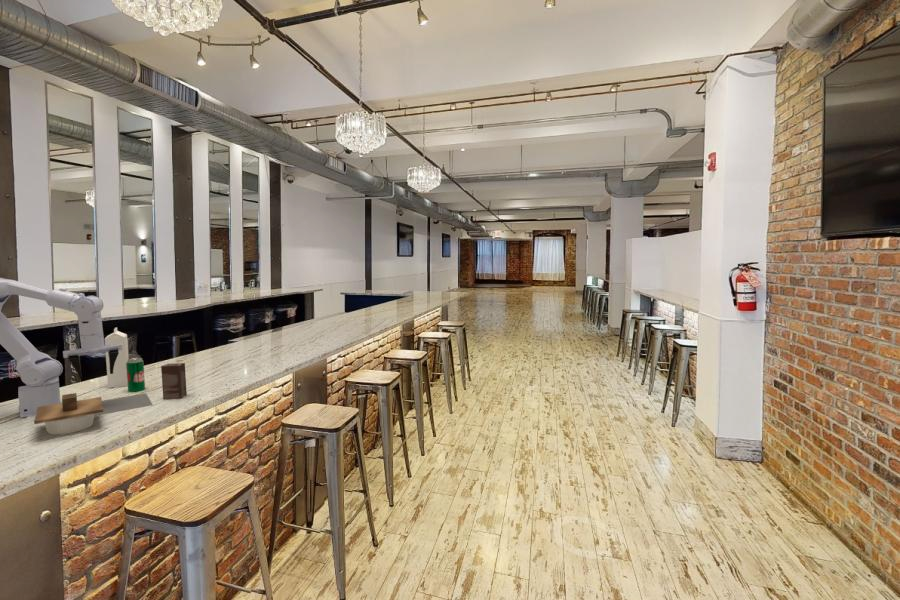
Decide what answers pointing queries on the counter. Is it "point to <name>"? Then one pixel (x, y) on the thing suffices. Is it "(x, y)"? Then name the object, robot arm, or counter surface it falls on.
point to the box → (173, 381)
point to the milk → (117, 360)
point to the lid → (68, 409)
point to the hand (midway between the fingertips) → (96, 375)
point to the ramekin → (69, 424)
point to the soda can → (135, 374)
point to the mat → (125, 403)
